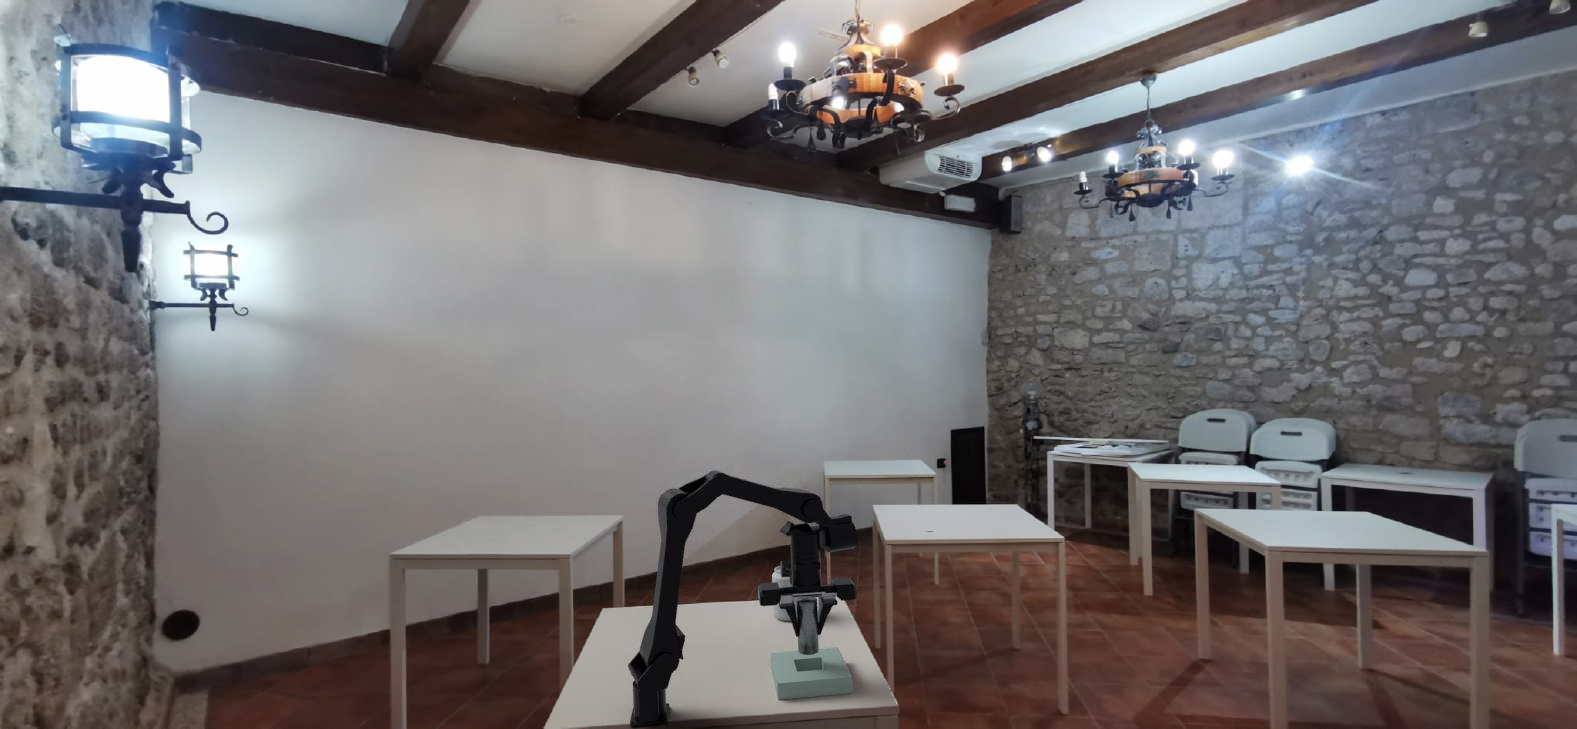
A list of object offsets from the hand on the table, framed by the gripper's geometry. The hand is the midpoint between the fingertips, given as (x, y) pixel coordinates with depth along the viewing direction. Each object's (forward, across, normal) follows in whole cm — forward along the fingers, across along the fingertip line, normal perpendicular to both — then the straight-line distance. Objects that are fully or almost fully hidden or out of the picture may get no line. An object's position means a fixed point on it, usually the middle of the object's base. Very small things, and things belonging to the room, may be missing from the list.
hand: (808, 635), depth 138 cm
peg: (+3, 0, 0) cm, 3 cm away
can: (+9, 0, -35) cm, 36 cm away
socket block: (+9, 0, 0) cm, 9 cm away
